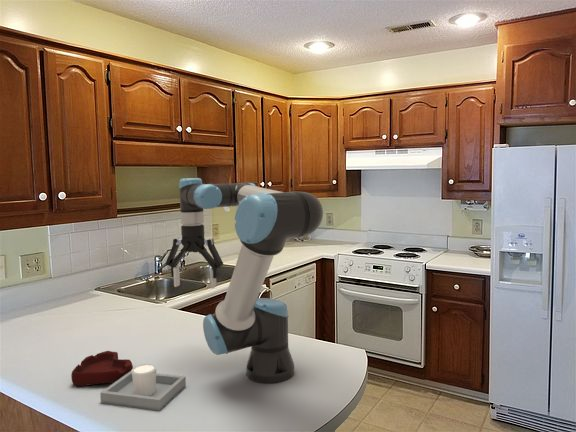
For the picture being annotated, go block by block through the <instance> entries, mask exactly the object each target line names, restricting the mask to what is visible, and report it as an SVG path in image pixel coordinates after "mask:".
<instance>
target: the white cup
mask: <svg viewBox="0 0 576 432" xmlns="http://www.w3.org/2000/svg"><path fill="white" fill-rule="evenodd" d="M131 372H132V379H133V385H134V392H135V395H143V396H150V395H152V394H153V393H155V388H156V373H157V366H156V365H155V364H151V363H150V364H149V363H146V364H140V365H137V366H135V367H134V366H133V369H132V370H131Z"/></svg>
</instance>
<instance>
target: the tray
mask: <svg viewBox="0 0 576 432" xmlns="http://www.w3.org/2000/svg"><path fill="white" fill-rule="evenodd" d="M185 386H187V379H186V376H185V375H176V374H167V373H157V372H156V388H155V393H153V394H152V395H150V396H143V395H135V392H134V385H133V379H132V372H131V371H130V372H129V373H127V374H126V375H124V376H123V377H122V378H120V379H119V380H117V381H116V382H112V384H110V385H108V387H106V388H105V389H103V390H102V391H100V403H101V404H106V405H114V406H120V407H127V408H128V407H130V408H136V409H143V410H144V409H145V410H151V411H156V412H157V411H160V412H161V411H162V410H163V408H165V407H166V406H167V405H168V404H169V403H170V402H171V401H172V400H173V399H174V398H175V397H177V395H179V393H180V392H182V391H183V390H184V389H185V388H186V387H185ZM184 387H185V388H184Z"/></svg>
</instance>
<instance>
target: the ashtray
mask: <svg viewBox="0 0 576 432" xmlns="http://www.w3.org/2000/svg"><path fill="white" fill-rule="evenodd" d="M118 354H119V353H118V352H117V351H111V350H106V351H102V352H99V353H97V354H95V355H93V354H92V355H91V354H90V355H88V356H86V357H84V359H83V360H82V361H81V362H80V364H77V365H76V366H75V367H74V368H73V370H72V371H71V376H70V377H71V383H72V384H73V385H74V386H76V387H86V386H93V385H100V384H110V383H115V382H116V381H117V380H119V379H120V378H122V377H123V376H124V375H126V374H127V373H129V372H130V371H131V370H132V369H133V368H134V366H133V362H132V361H131V359H128V358H127V359H119V355H118Z"/></svg>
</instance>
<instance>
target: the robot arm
mask: <svg viewBox="0 0 576 432" xmlns="http://www.w3.org/2000/svg"><path fill="white" fill-rule="evenodd" d="M178 191H179V208H180V224H181V227H180V231H181V238H180V237H176V238H173V239H172V247H171V249H170V251H169V254H168V256H167V259H166V262H165V265H166V266H168V267H170V271H171V272H170V273H171V277H173V286H174V287H175V288H177V287H179V286H180V285H181V282H180V281H181V279H180V278H181V277H180V275H181V274H180V266H179V263H180V262H181V261H182V259H183V258H184V256H185V255H187V254H186V253H199V255H201V256H202V257H203V258H204V259H205V261H206V262H207V263H208V264H209V265H210V267H211V268H210V269H209V272H210V273H209V275H210V289H215V288H216V287H217V279H218V277H219V268H221V267H223V266H224V262H223V260H222V257H221V256H220V254H219V252H218V250H217V248H216V246H215V241H214V239H213V238H209V239H205V225H204V221H205V219H204V215H205V214H204V210H212V209H215V208H226V207H227V208H228V207H237V208H236V211H235V214H234V221H235V223H234V230H235V232H236V235H237V236H238V239H239V241H240V243H241V248H240V251H239V254H238V258H237V260H236V263H235V266H234V269H233V272H232V275H231V279H230V282H229V285H228V287H227V291H226V294H225V297H224V299H223V300H221V301H220V302H219V303H218V304H217V305H216V307H215V311H214V313H213V314H211V313H210V314H208V315H205V316H204V318H203V322H202V326H203V327H202V328H203V329H202V330H203V334H204V338H205V341H206V343H207V346H208V348H209V349H210V352H211V353H213V354H214V355H216V356H220V355H224V354H225V355H228V354H229V353H233V352H237V351H240V350H245V349H247V348H250V353H249V355H248V359H247V362H246V367H245V372H246V373H245V374H246V376H247V378H248V379H249V380H252V381H254V382H257V383H262V384H275V383H280V382H284V381H287V380H289V379H290V378H292V377H293V376H294V374H295V363H294V359H293V357H292V354H291V350H290V349H289V321H288V320H289V319H288V318H289V311H288V306H287V304H286V303H285V302H284V301H283V300H280V299H275V298H266V297H259V296H260V292H261V291H262V288H263V285H264V282H265V280H266V277H267V274H268V272H269V269H270V267H271V263H272V262H273V260H274V256H277V255H278V254H280V253H281V252H283V249H284V247H285V244H286V242H287V240H288V239H294V238H295V239H296V238H297V239H298V238H302V237H307V236H309V235H311V234H312V233H314V232H315V231H316V230H317V229H318V228H319V226H320V225H321V223H322V221H323V217H324V210H323V205H322V203H321V201H320V200H319V199H318V198H317V197H316V196H315V195H314V194H312V193H310V192H306V191H295V190H294V191H288V192H287V191H286V192H284V191H280V190H279V191H278V190H275V189H269V188H265V187H260V186H257V185H256V183H252V182H239V183H237V182H236V183H235V182H234V183H207V184H206V183H203V180H202V179H201V178H200V177H196V178H195V177H194V178H193V177H191V178H189V177H188V178H187V177H186V178H184V177H183V178H180V180H179V188H178ZM180 245H182V248H181V249H180V251H179V253H178V254H177V252H178V250H179V248H180ZM205 245H206V246H207V247H208V250H209V252H210V253H209V252H208V250H207V248H206V247H205Z"/></svg>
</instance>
